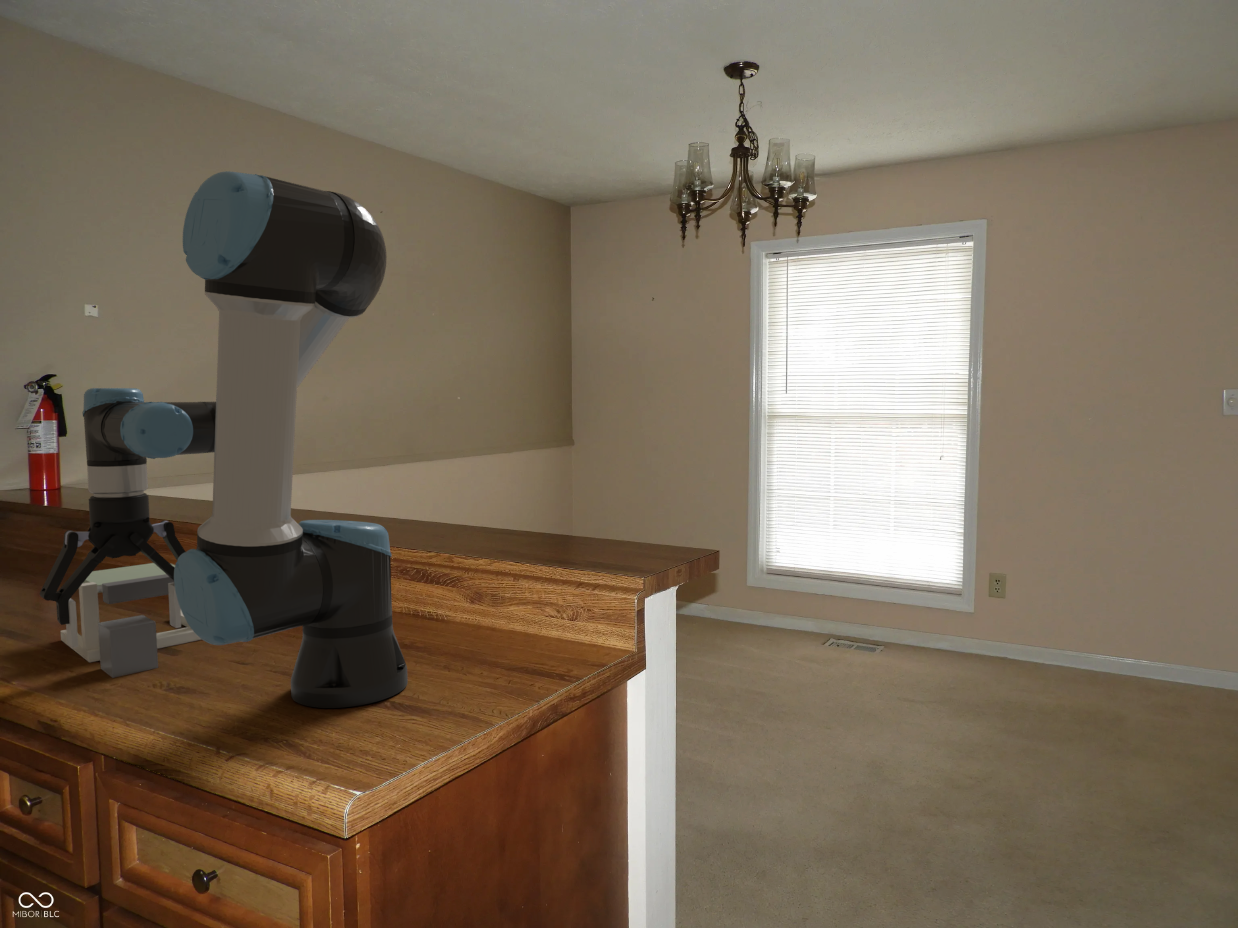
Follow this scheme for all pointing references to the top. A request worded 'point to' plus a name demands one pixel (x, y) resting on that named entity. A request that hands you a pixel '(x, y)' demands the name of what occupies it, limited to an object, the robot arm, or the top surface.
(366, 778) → the top surface
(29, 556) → the top surface
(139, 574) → the trapdoor
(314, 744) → the top surface
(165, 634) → the stand
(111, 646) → the basalt block
